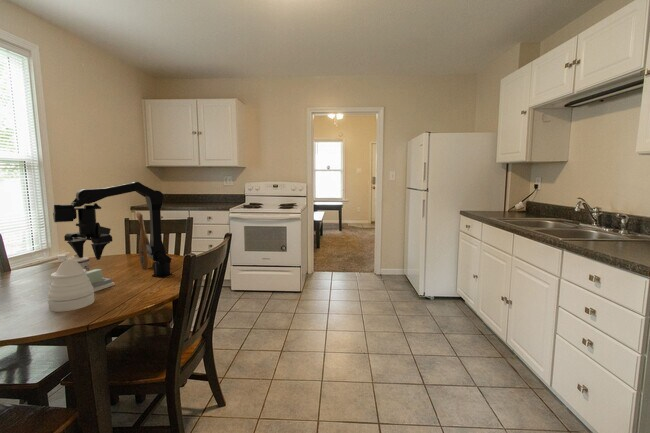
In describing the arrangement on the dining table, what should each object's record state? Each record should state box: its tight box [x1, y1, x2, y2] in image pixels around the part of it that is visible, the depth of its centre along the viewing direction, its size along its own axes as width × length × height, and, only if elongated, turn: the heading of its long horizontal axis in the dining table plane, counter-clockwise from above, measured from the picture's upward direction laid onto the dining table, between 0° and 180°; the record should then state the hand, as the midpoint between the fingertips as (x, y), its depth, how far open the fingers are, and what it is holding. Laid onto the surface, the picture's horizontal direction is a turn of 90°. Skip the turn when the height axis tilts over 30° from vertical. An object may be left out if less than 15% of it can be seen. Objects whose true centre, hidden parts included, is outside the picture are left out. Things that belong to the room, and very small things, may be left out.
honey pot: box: [47, 254, 95, 312], centre depth 114 cm, size 13×13×18 cm
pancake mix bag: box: [135, 211, 154, 270], centre depth 166 cm, size 7×19×28 cm, turn 28°
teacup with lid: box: [69, 252, 90, 271], centre depth 144 cm, size 12×9×12 cm
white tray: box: [91, 277, 115, 293], centre depth 132 cm, size 10×12×2 cm
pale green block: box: [86, 268, 104, 284], centre depth 132 cm, size 7×3×6 cm, turn 164°
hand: (89, 258), depth 131 cm, fingers open, 9 cm apart
